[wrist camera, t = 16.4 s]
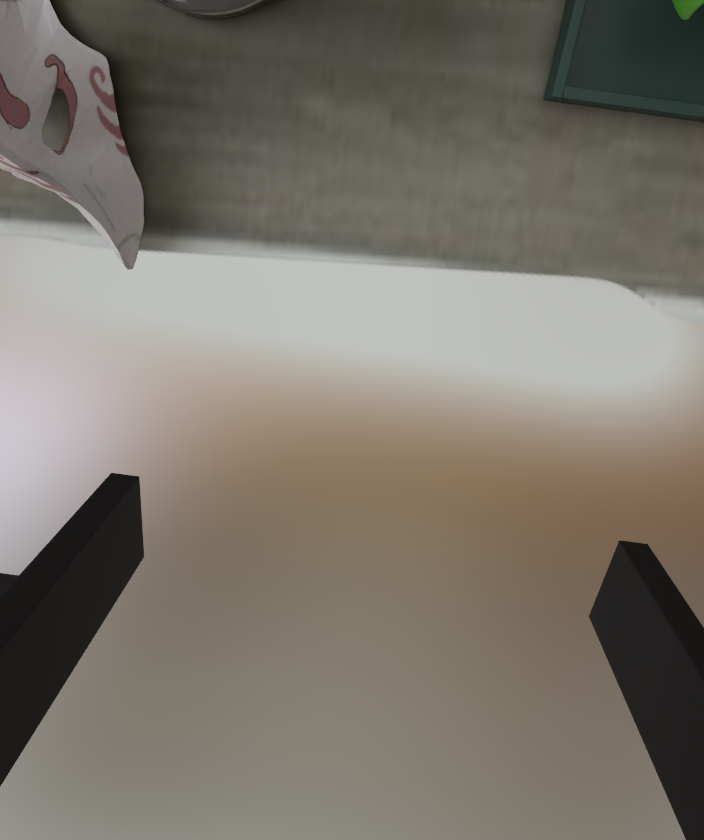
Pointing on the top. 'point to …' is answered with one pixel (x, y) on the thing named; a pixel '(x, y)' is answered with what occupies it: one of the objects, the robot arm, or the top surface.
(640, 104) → the tray
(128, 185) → the mask
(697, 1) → the sippy cup
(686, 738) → the robot arm
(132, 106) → the top surface
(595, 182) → the top surface
